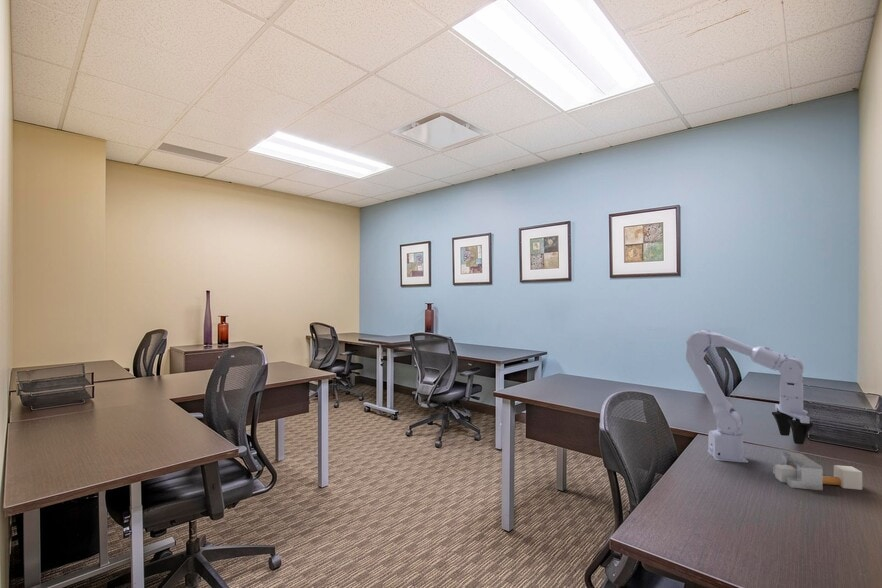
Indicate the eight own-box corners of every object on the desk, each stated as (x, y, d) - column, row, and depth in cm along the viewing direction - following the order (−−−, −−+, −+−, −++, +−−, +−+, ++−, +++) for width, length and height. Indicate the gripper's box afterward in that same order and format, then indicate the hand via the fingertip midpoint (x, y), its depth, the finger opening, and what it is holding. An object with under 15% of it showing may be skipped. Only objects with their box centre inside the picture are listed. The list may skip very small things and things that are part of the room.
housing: (791, 487, 119) (791, 464, 119) (772, 472, 128) (772, 451, 128) (822, 490, 117) (822, 466, 117) (801, 475, 127) (801, 453, 127)
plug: (782, 482, 122) (781, 465, 122) (774, 476, 126) (774, 460, 126) (862, 489, 117) (862, 472, 117) (852, 483, 121) (852, 466, 121)
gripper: (821, 402, 122) (821, 448, 122) (792, 391, 136) (792, 432, 136) (793, 401, 123) (793, 446, 123) (767, 390, 137) (768, 431, 137)
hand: (791, 439), depth 130 cm, fingers open, 7 cm apart
